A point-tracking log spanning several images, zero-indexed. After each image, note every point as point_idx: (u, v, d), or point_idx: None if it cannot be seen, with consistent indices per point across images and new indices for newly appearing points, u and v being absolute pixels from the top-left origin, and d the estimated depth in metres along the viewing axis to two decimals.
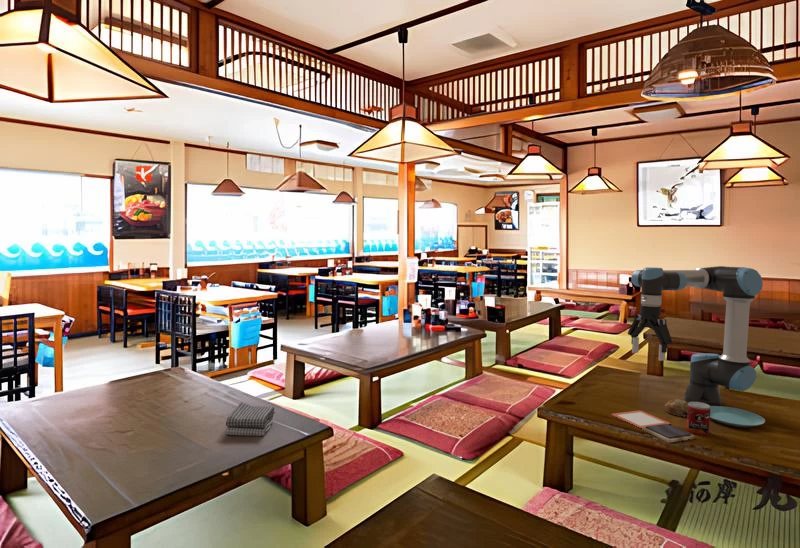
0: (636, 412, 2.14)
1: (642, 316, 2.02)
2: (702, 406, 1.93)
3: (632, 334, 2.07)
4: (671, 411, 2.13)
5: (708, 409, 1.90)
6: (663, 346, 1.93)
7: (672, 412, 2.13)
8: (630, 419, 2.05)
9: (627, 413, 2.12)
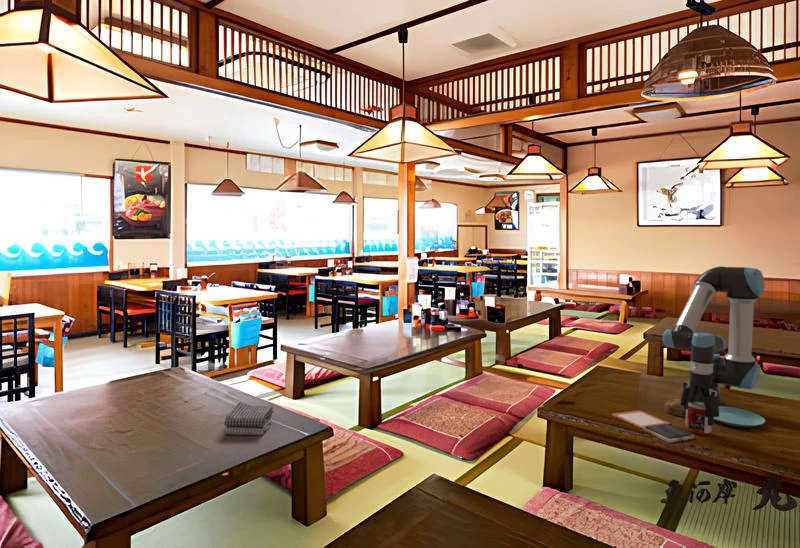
0: (636, 412, 2.14)
1: (691, 382, 1.96)
2: (702, 406, 1.93)
3: (685, 405, 1.98)
4: (670, 411, 2.13)
5: None
6: (709, 419, 1.89)
7: (671, 412, 2.13)
8: (630, 419, 2.05)
9: (627, 413, 2.12)
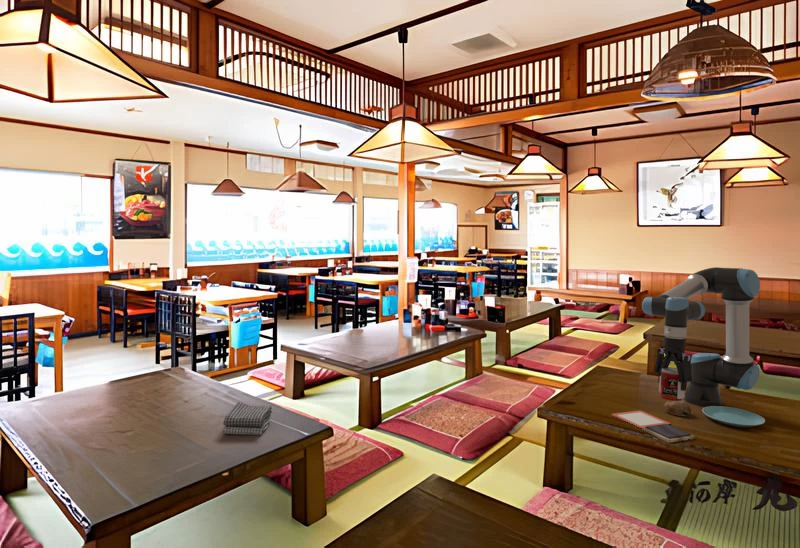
0: (636, 412, 2.14)
1: (665, 348, 1.91)
2: (675, 371, 1.88)
3: (659, 372, 1.94)
4: (670, 411, 2.13)
5: None
6: (682, 384, 1.84)
7: (671, 412, 2.13)
8: (630, 419, 2.05)
9: (627, 413, 2.12)
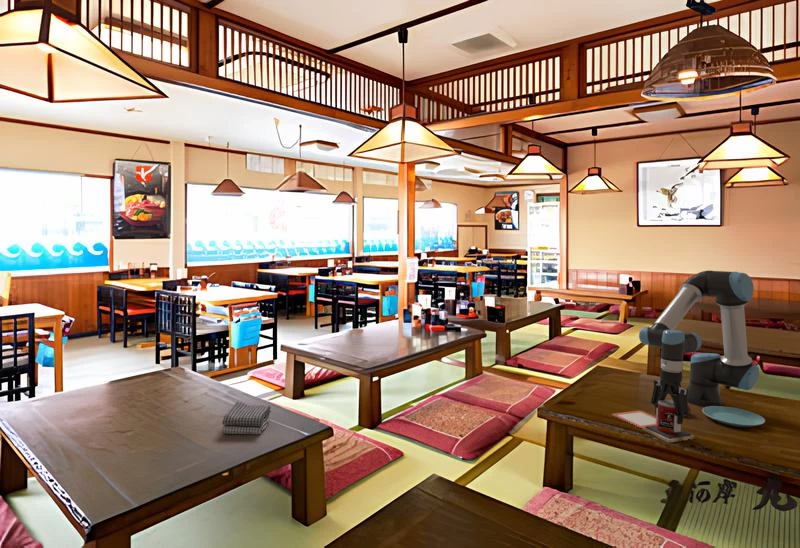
0: (636, 412, 2.14)
1: (661, 380, 1.92)
2: (672, 404, 1.89)
3: (655, 404, 1.95)
4: None
5: None
6: (679, 417, 1.85)
7: None
8: (630, 419, 2.05)
9: (627, 413, 2.12)
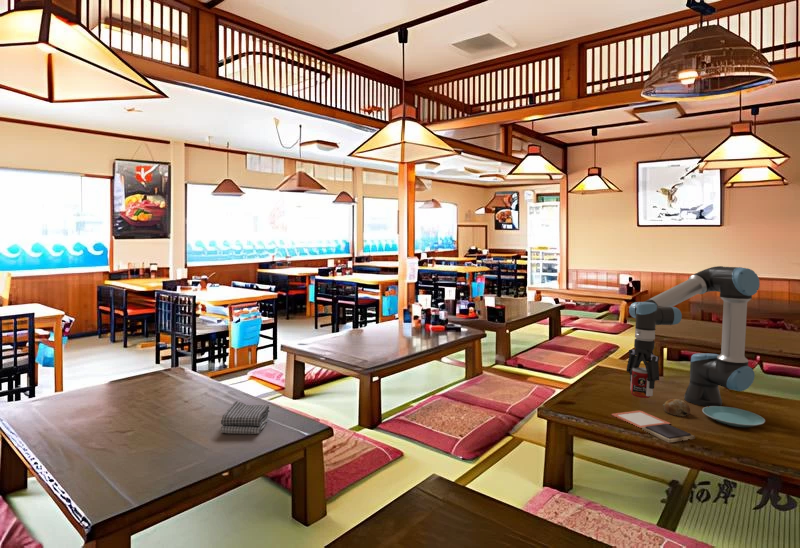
0: (636, 412, 2.14)
1: (636, 349, 2.07)
2: (645, 371, 2.04)
3: (630, 371, 2.09)
4: (669, 411, 2.14)
5: None
6: (650, 382, 2.00)
7: (670, 412, 2.13)
8: (630, 419, 2.05)
9: (627, 413, 2.12)
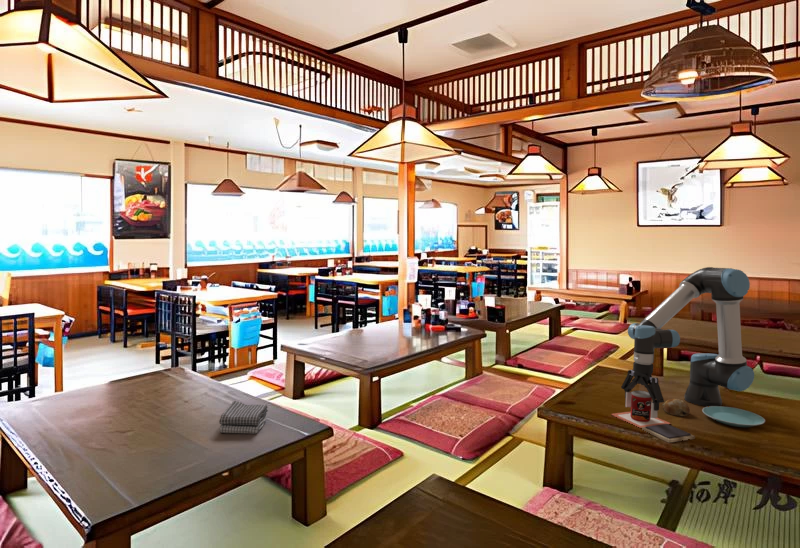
0: None
1: (635, 372, 2.07)
2: (644, 394, 2.05)
3: (625, 389, 2.12)
4: (669, 411, 2.14)
5: (649, 397, 2.02)
6: (655, 404, 1.98)
7: (670, 412, 2.13)
8: (630, 419, 2.05)
9: (627, 413, 2.12)
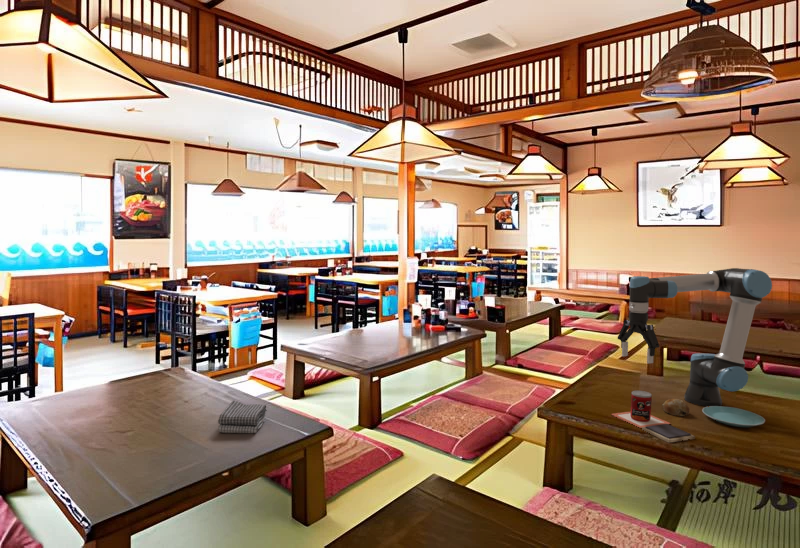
0: None
1: (631, 322, 2.16)
2: (644, 394, 2.05)
3: (622, 339, 2.21)
4: (669, 410, 2.14)
5: (649, 397, 2.02)
6: (651, 350, 2.07)
7: (670, 411, 2.14)
8: (630, 419, 2.05)
9: (627, 413, 2.12)
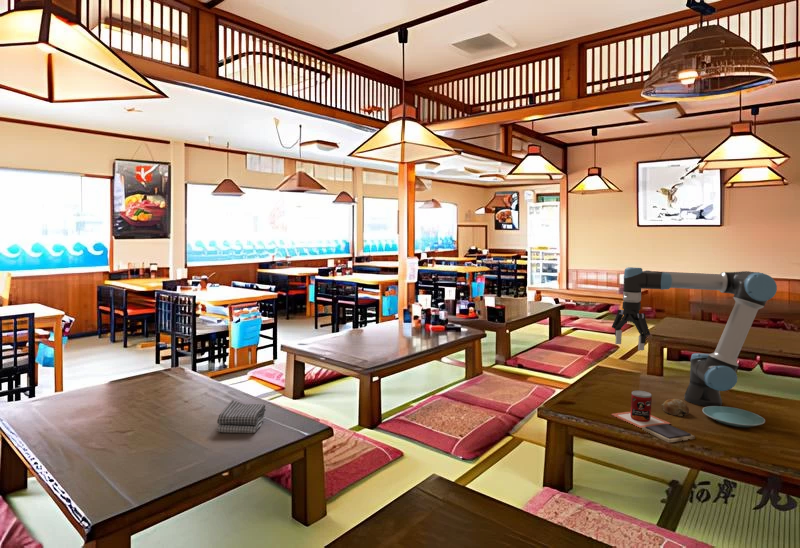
0: None
1: (624, 311, 2.26)
2: (644, 394, 2.05)
3: (615, 327, 2.31)
4: (668, 410, 2.14)
5: (649, 397, 2.02)
6: (642, 337, 2.17)
7: (669, 411, 2.14)
8: (630, 419, 2.05)
9: (627, 413, 2.12)
